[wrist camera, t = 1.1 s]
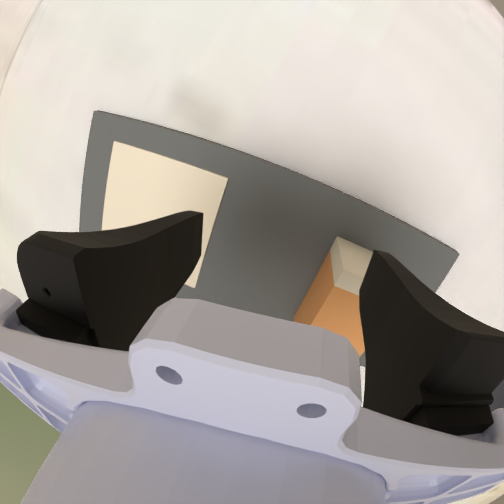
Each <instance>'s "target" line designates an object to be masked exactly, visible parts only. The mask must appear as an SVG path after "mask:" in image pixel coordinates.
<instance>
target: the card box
mask: <svg viewBox="0 0 504 504" xmlns="http://www.w3.org/2000/svg"><path fill="white" fill-rule="evenodd" d="M372 254H373V252H372V251H370V250H368V249H366V248H363V247H361V246H359V245H357V244H354V243H352V242H350V241H348V240H345V239H343V238H341V237H338V236H337V237H336V239H335V241H334V243H333V245H332V247H331V249H330V251H329V253H328V255H327V256H326V258H325V260H324V262H323V264H322V266H321V268H320V270H319V272H318V274H317V275H316V277H315V279H314V281H313V283H312V285H311V286H310V288H309V290H308V292H307V294H306V296H305V297H304V299H303V301H302V303H301V305H300V306H299V308H298V310H297V312H296V313H295V315H294V320H293V322H297V323H302V324H307V325H312V326H317V327H322V328H325V329H327V330H329V331H332V332H334V333H336V334H339V335H341V336H343V337H346V338H348V340H349V341H350V343H351V344H352V345H353V347H354V348H355V350H356V351H357V353H358V354H359V357H360V356H361V355H362V354H363V352H364V351H365V347H364V339H363V332H362V325H361V318H360V311H359V289H360V287H361V284H362V281H363V279H364V276H365V273H366V271H367V268H368V265H369V263H370V260H371V257H372Z"/></svg>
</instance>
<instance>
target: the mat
mask: <svg viewBox="0 0 504 504" xmlns="http://www.w3.org/2000/svg"><path fill="white" fill-rule="evenodd" d="M114 141H118V142H122V143H125V144H128V145H132V146H135V147H138V148H142V149H145V150H148V151H151V152H154V153H157V154H161V155H164V156H167V157H170V158H173V159H176V160H179V161H182V162H185V163H188V164H191V165H194V166H196V167H199V168H202V169H205V170H208V171H211V172H214V173H216V174H219V175H222V176H225V177H227V178H229V179H228V182H227V185H226V188H225V191H224V194H223V197H222V200H221V204H220V207H219V210H218V213H217V216H216V220H215V223H214V226H213V229H212V233H211V236H210V239H209V243H208V246H207V249H206V253H205V256H204V259H203V263H202V266H201V270H200V273H199V277H198V280H197V284H196V287H195V288H193V287H190V286H188V285H186V284H184V285H183V287H182V288H181V289H180V291H179V292H178V294H177V295H176V296H175V297H176V298H183V299H200V300H204V301H208V302H212V303H215V304H219V305H223V306H227V307H231V308H235V309H240V310H244V311H248V312H252V313H256V314H261V315H265V316H270V317H274V318H279V319H283V320H288V321H292V322H293V320H294V315H295V313H296V312H297V310H298V308H299V306H300V305H301V303H302V301H303V299H304V297H305V296H306V294H307V292H308V290H309V288H310V286H311V285H312V283H313V281H314V279H315V277H316V275H317V274H318V272H319V270H320V268H321V266H322V264H323V262H324V260H325V258H326V256H327V255H328V253H329V251H330V249H331V247H332V245H333V243H334V241H335V239H336V237H337V236H338V237H341V238H343V239H345V240H348V241H350V242H352V243H354V244H357V245H359V246H361V247H363V248H366V249H368V250H370V251H372V252H373V251H374V249H375V250H379V251H383V252H388V253H389V254H391V255H392V256H393V257H395V258H396V259H397V260H398V261H399V262H400V263H402V264H403V265H404V266H405V267H406V268H407V269H408V270H409V271H410V272H411V273H412V274H414V275H415V276H416V277H417V278H418V279H419V280H420V281H421V282H422V283H424V284H425V285H426V286H427V287H428V288H429V289H431V290H432V291H433V292H434V293H435V292H436V290H437V289H438V287H439V286H440V284H441V283H442V281H443V280H444V278H445V277H446V275H447V274H448V272H449V271H450V269H451V267H452V266H453V264H454V263H455V261H456V259H457V258H458V256H459V253H458V252H457V251H456V250H454V249H452V248H451V247H449V246H447V245H445V244H444V243H442V242H440V241H438V240H437V239H435V238H433V237H431V236H429V235H428V234H426V233H424V232H422V231H420V230H418V229H417V228H415V227H413V226H411V225H409V224H407V223H405V222H403V221H401V220H399V219H397V218H395V217H394V216H392V215H390V214H388V213H386V212H384V211H382V210H379V209H377V208H375V207H373V206H371V205H369V204H367V203H365V202H363V201H361V200H359V199H356V198H354V197H352V196H350V195H348V194H346V193H343V192H341V191H339V190H337V189H334V188H332V187H330V186H328V185H325V184H323V183H321V182H318V181H316V180H314V179H311V178H309V177H306V176H304V175H302V174H299V173H297V172H294V171H292V170H289V169H287V168H284V167H282V166H279V165H276V164H274V163H271V162H269V161H266V160H263V159H261V158H258V157H255V156H252V155H250V154H247V153H244V152H241V151H238V150H236V149H233V148H230V147H227V146H224V145H221V144H218V143H215V142H212V141H209V140H206V139H203V138H199V137H196V136H193V135H190V134H186V133H183V132H180V131H176V130H173V129H169V128H166V127H162V126H159V125H155V124H151V123H148V122H144V121H140V120H136V119H132V118H128V117H124V116H120V115H116V114H111V113H107V112H102V111H94V113H93V118H92V123H91V128H90V134H89V139H88V146H87V152H86V159H85V167H84V175H83V184H82V195H81V208H80V226H79V232H93V231H102V220H103V210H104V201H105V193H106V185H107V178H108V172H109V165H110V160H111V154H112V148H113V143H114ZM359 362H360V366H364V367H366V358H365V351H364V352H363V354H362V355H361V356H360V357H359Z"/></svg>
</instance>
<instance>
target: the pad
mask: <svg viewBox="0 0 504 504" xmlns="http://www.w3.org/2000/svg"><path fill="white" fill-rule="evenodd" d="M228 179H229V178H227V177H225V176H222V175H219V174H216V173H214V172H211V171H208V170H205V169H202V168H199V167H196V166H194V165H191V164H188V163H185V162H182V161H179V160H176V159H173V158H170V157H167V156H164V155H161V154H157V153H154V152H151V151H148V150H145V149H142V148H138V147H135V146H132V145H128V144H125V143H122V142H118V141H114V143H113V148H112V154H111V160H110V165H109V172H108V178H107V185H106V193H105V201H104V210H103V220H102V230H111V229H117V228H123V227H128V226H132V225H137V224H140V223H144V222H148V221H151V220H155V219H158V218H162V217H165V216H168V215H172V214H175V213H179V212H183V211H189V210H191V211H196V212H202V213H204V215H203V231H202V250H201V257H200V259H199V261H198V263H197V265H196V267H195V269H194V271H193V273H192V274H191V275H190V277H189V278H188V280H187V281H186V283H185V284H186V285H188V286H190V287H193V288H195V287H196V284H197V280H198V277H199V273H200V270H201V266H202V263H203V259H204V256H205V253H206V249H207V246H208V243H209V239H210V236H211V233H212V229H213V226H214V223H215V220H216V216H217V213H218V210H219V207H220V204H221V200H222V197H223V194H224V191H225V188H226V185H227V182H228Z"/></svg>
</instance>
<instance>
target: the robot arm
mask: <svg viewBox="0 0 504 504" xmlns="http://www.w3.org/2000/svg"><path fill="white" fill-rule="evenodd" d="M203 215H204V213H202V212H196V211H191V210H189V211H183V212H179V213H175V214H172V215H168V216H165V217H162V218H158V219H155V220H151V221H148V222H144V223H140V224H137V225H132V226H128V227H123V228H117V229H111V230H102V231H93V232H50V231H38V232H36V233H35V234H33V235H32V236H30V237H29V238H27V239H26V240H24V241H23V242H21V244H20V245H19V247H18V251H17V263H18V268H19V272H20V275H21V278H22V281H23V284H24V287H25V290H26V293H27V296H28V298H29V299H28V300H26V301H25V302H24V303H22V301H21V300H20V299H19V298H18V297H17V296H15V295H13V294H12V293H10V292H9V291H7V290H5V289H1V290H0V382H1V383H2V384H3V385H4V386H5V387H6V388H8V389H9V390H10V391H11V392H12V393H13V394H14V395H15V396H16V397H18V398H19V399H20V400H21V401H22V402H23V403H24V404H25V405H27V406H28V407H29V408H30V409H32V410H33V411H34V412H35V413H36V414H37V415H39V416H40V417H41V418H42V419H44V420H45V421H46V422H47V423H49V424H50V425H51V426H53V427H54V428H55V429H57V430H58V431H59V432H61V433H62V434H61V436H60V437H59V439H58V440H57V442H56V443H55V445H54V447H53V448H52V450H51V452H50V453H49V455H48V456H47V458H46V460H45V461H44V463H43V465H42V466H41V468H40V470H39V471H38V473H37V475H36V477H35V478H34V480H33V482H32V483H31V485H30V487H29V489H28V491H27V492H26V494H25V496H24V498H23V499H22V501H21V503H20V504H448V503H452V502H455V501H459V500H462V499H466V498H469V497H473V496H476V495H479V494H482V493H484V492H486V491H488V490H490V489H491V488H493V487H495V486H497V485H498V484H500V483H501V482H503V481H504V408H501V409H497V410H495V411H493V412H491V411H490V407H489V405H491V404H492V402H493V400H494V399H493V396H492V392H493V390H494V389H495V388H496V387H497V386H498V385H499V384H500V382H501V381H502V380H503V379H504V332H503V331H500V330H498V329H495V328H493V327H490V326H488V325H486V324H484V323H482V322H480V321H478V320H476V319H474V318H472V317H470V316H468V315H467V314H465V313H463V312H462V311H460V310H459V309H457V308H455V307H454V306H452V305H451V304H449V303H448V302H446V301H445V300H444V299H442V298H441V297H440V296H438V295H437V294H436V293H434V292H433V291H432V290H431V289H429V288H428V287H427V286H426V285H425V284H424V283H422V282H421V281H420V280H419V279H418V278H417V277H416V276H415V275H414V274H412V273H411V272H410V271H409V270H408V269H407V268H406V267H405V266H404V265H403V264H402V263H400V262H399V261H398V260H397V259H396V258H395V257H393V256H392V255H391V254H389V253H388V252H383V251H379V250H375V249H374V251H373V254H372V257H371V260H370V263H369V265H368V268H367V271H366V273H365V276H364V279H363V281H362V284H361V287H360V289H359V311H360V318H361V325H362V332H363V339H364V347H365V358H366V369H365V391H364V402H363V407H361V404H362V397H361V377H360V362H359V354H358V353H357V351H356V350H355V348H354V347H353V345H352V344H351V343H350V341H349V340H348V338H346V337H343V336H341V335H339V334H336V333H334V332H332V331H329V330H327V329H325V328H322V327H317V326H312V325H307V324H302V323H297V322H292V321H288V320H283V319H279V318H274V317H270V316H265V315H261V314H256V313H252V312H248V311H244V310H240V309H235V308H231V307H227V306H223V305H219V304H215V303H212V302H208V301H204V300H200V299H183V298H175V296H176V295H177V294H178V292H179V291H180V289H181V288H182V287H183V285H184V284H185V283H186V281H187V280H188V278H189V277H190V275H191V274H192V273H193V271H194V269H195V267H196V265H197V263H198V261H199V259H200V257H201V250H202V231H203Z"/></svg>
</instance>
